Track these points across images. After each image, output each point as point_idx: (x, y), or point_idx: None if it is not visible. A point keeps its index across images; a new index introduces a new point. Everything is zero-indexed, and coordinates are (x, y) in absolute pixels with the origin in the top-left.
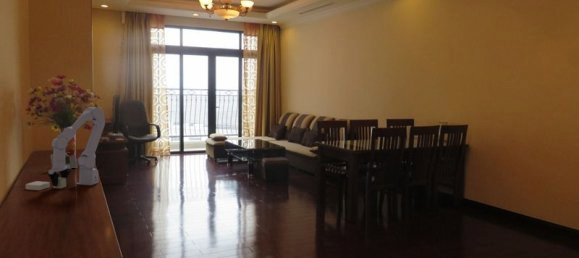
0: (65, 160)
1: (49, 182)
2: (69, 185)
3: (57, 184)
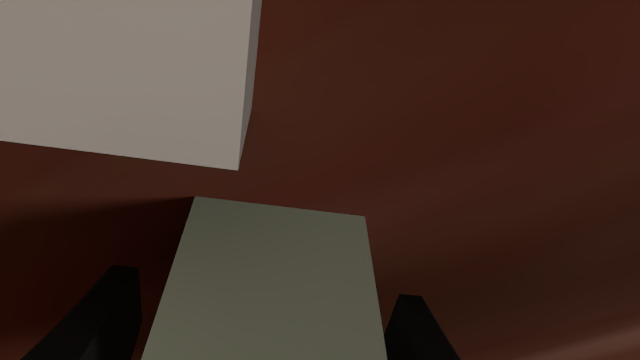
0: None
1: (219, 165)
2: None
3: (127, 354)
